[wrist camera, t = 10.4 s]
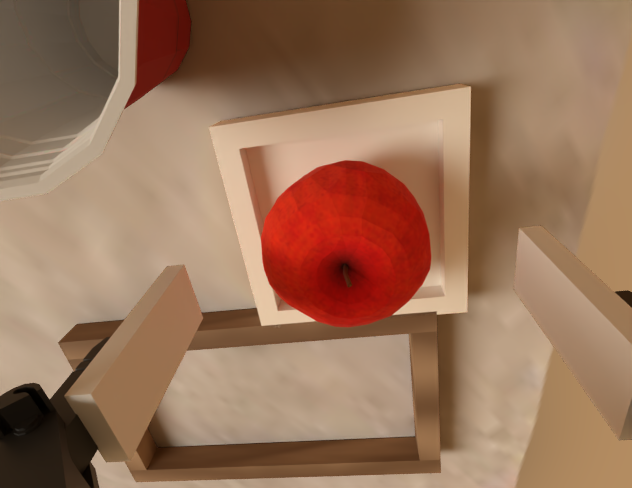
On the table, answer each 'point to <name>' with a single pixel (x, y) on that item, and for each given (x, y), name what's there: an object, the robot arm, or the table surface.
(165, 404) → the table surface
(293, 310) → the dish
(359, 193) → the apple
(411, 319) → the pocket frame
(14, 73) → the plastic cup
